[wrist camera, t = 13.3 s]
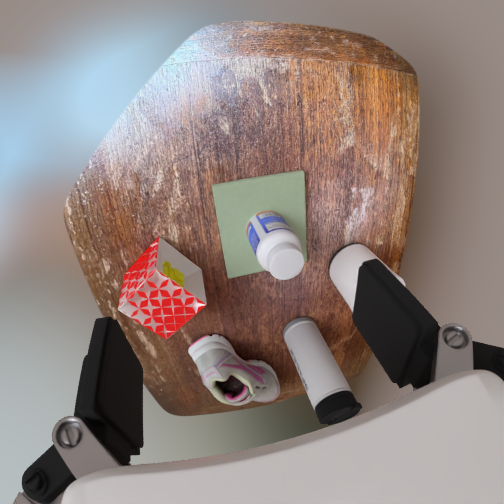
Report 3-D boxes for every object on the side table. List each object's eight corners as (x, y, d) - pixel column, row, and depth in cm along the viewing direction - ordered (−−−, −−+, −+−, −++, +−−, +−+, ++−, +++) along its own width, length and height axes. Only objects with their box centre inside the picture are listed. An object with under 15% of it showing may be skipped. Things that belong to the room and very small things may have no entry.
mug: (327, 245, 46) (359, 283, 37) (374, 236, 47) (411, 269, 38) (322, 299, 51) (348, 340, 43) (366, 288, 53) (395, 324, 44)
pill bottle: (264, 251, 43) (285, 293, 34) (236, 230, 40) (252, 270, 32) (291, 224, 41) (320, 261, 33) (264, 200, 39) (289, 234, 31)
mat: (211, 184, 37) (212, 186, 36) (302, 169, 38) (304, 171, 38) (227, 275, 44) (228, 278, 44) (304, 258, 46) (306, 261, 45)
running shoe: (253, 392, 62) (264, 429, 53) (174, 353, 50) (177, 399, 42) (285, 371, 60) (300, 408, 52) (208, 326, 49) (216, 372, 40)
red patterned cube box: (201, 269, 43) (207, 304, 36) (166, 302, 44) (166, 339, 38) (158, 235, 39) (155, 268, 32) (124, 273, 40) (116, 309, 34)
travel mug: (322, 322, 54) (370, 408, 37) (297, 344, 56) (337, 431, 39) (301, 310, 51) (349, 404, 34) (275, 334, 53) (313, 429, 36)
